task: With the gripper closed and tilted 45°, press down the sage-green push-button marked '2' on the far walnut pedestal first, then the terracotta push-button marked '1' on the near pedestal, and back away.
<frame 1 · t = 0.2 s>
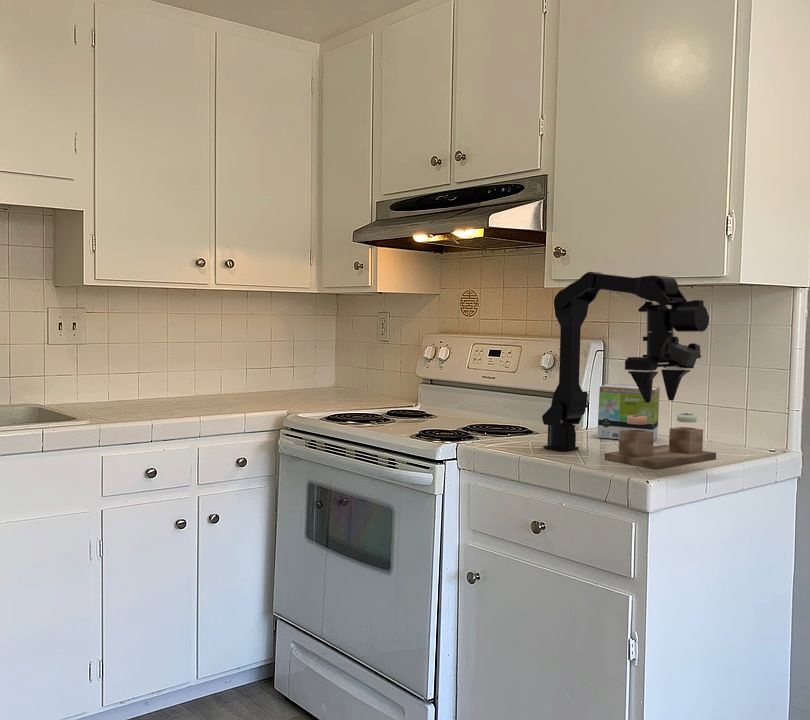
hand: (659, 401, 179), 15 cm above the worktop, tool pointing down, fingers open, 9 cm apart
console: (660, 459, 188), on the worktop
tea box: (627, 439, 221), on the worktop
button 2: (686, 417, 191), point 10 cm above the worktop, slide at 0.0 cm
button 1: (636, 419, 185), point 10 cm above the worktop, slide at 0.0 cm
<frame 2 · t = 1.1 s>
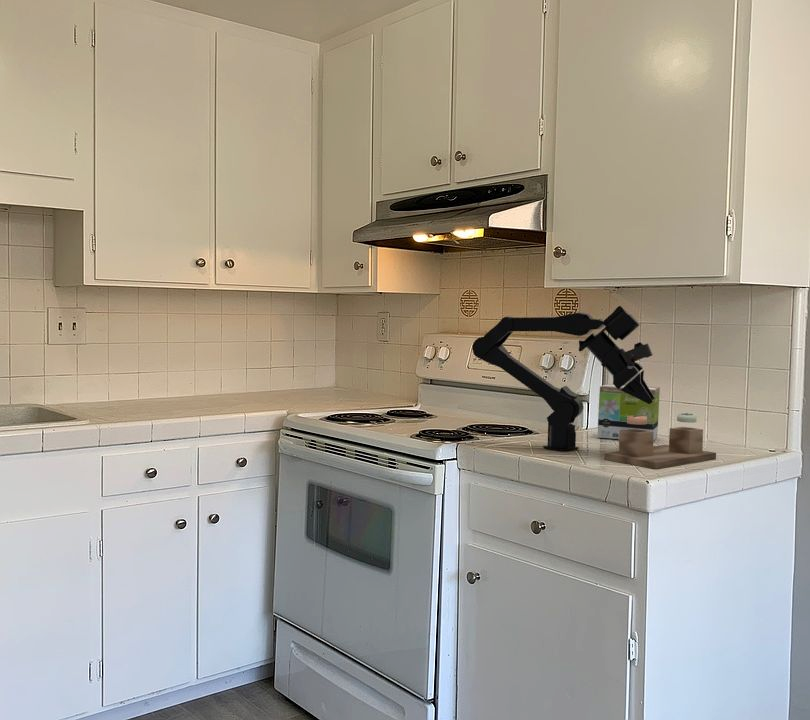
hand: (652, 401, 193), 13 cm above the worktop, tool tilted 45°, fingers open, 8 cm apart
nothing on the worktop moved.
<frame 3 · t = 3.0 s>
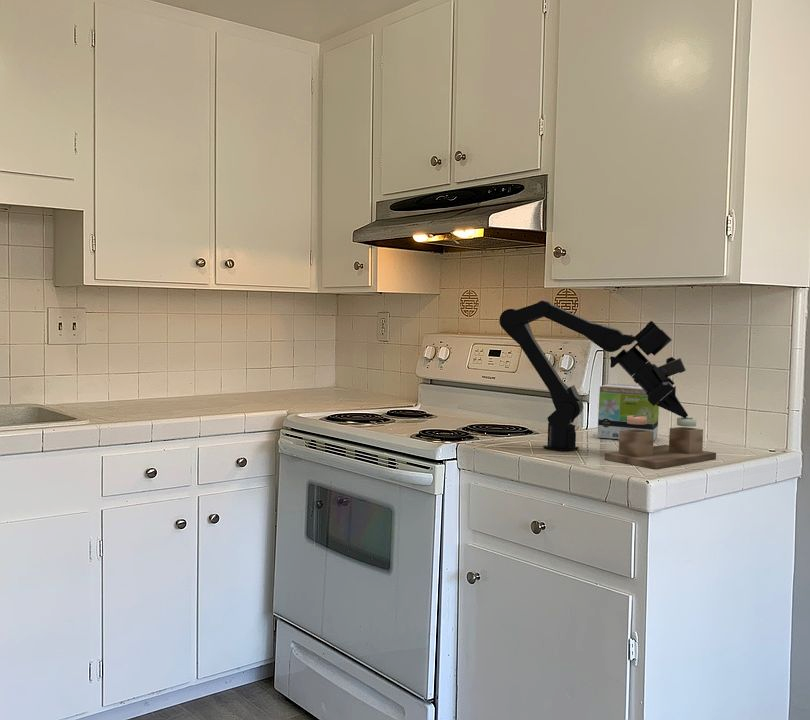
hand: (686, 416, 191), 10 cm above the worktop, tool tilted 45°, fingers closed, pressing on button 2
button 2: (686, 421, 191), point 9 cm above the worktop, slide at 1.0 cm, touching gripper
everything else where it was.
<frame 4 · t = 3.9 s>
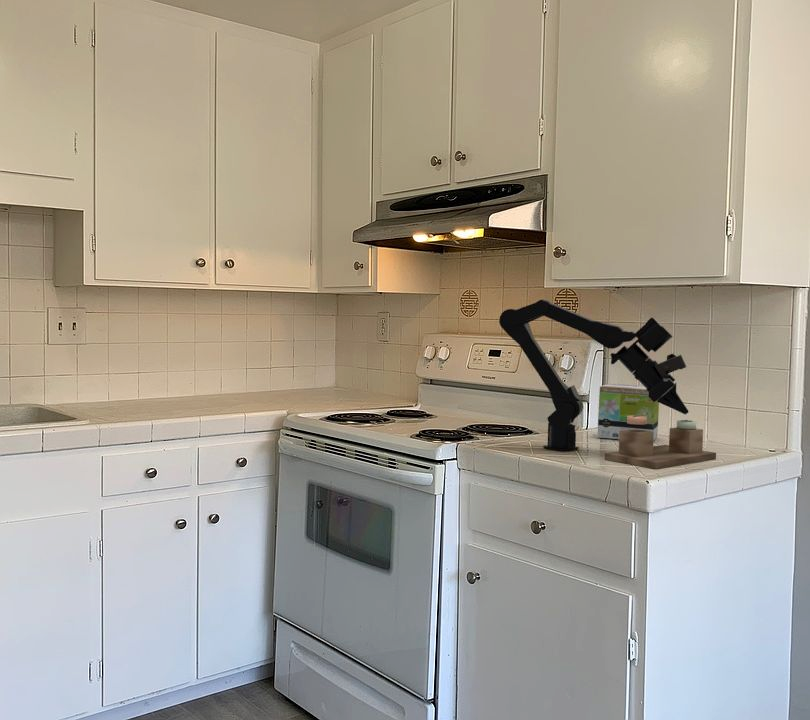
hand: (687, 413, 191), 11 cm above the worktop, tool tilted 45°, fingers closed
button 2: (686, 424, 191), point 8 cm above the worktop, slide at 1.6 cm
everything else where it was.
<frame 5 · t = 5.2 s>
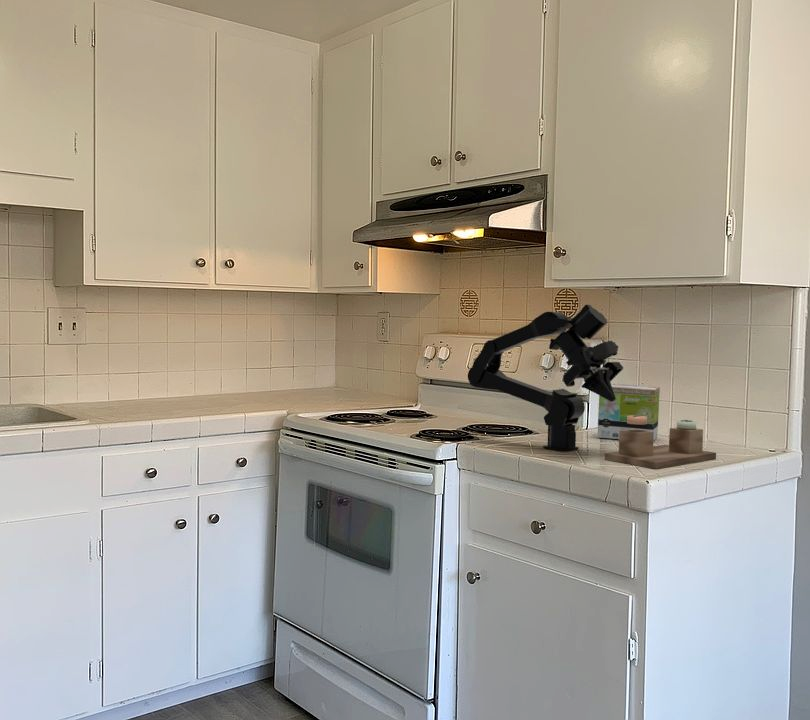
hand: (613, 400, 190), 14 cm above the worktop, tool tilted 45°, fingers closed
nothing on the worktop moved.
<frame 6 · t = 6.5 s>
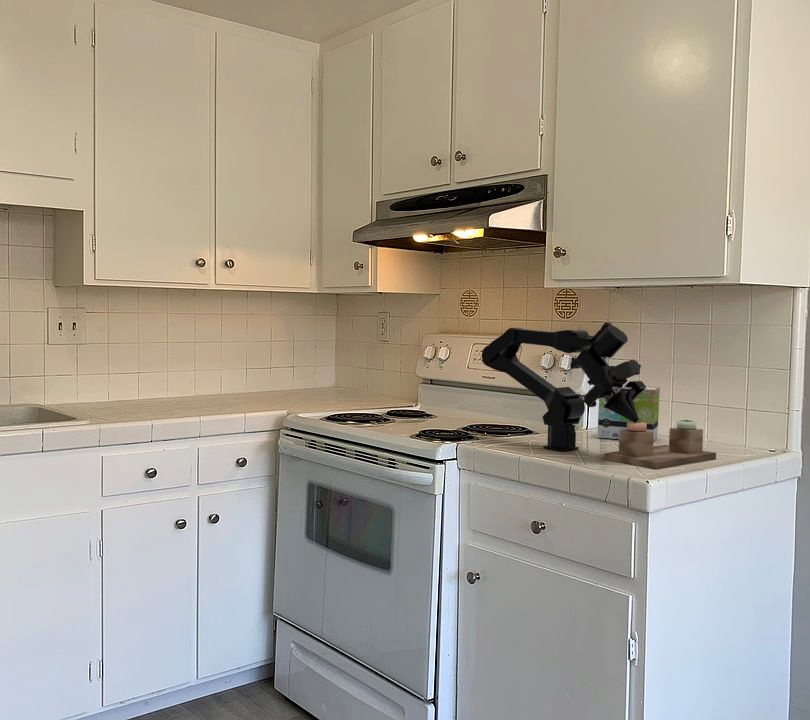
hand: (636, 421, 185), 9 cm above the worktop, tool tilted 45°, fingers closed, pressing on button 1
button 1: (636, 425, 185), point 8 cm above the worktop, slide at 1.5 cm, touching gripper
everything else where it was.
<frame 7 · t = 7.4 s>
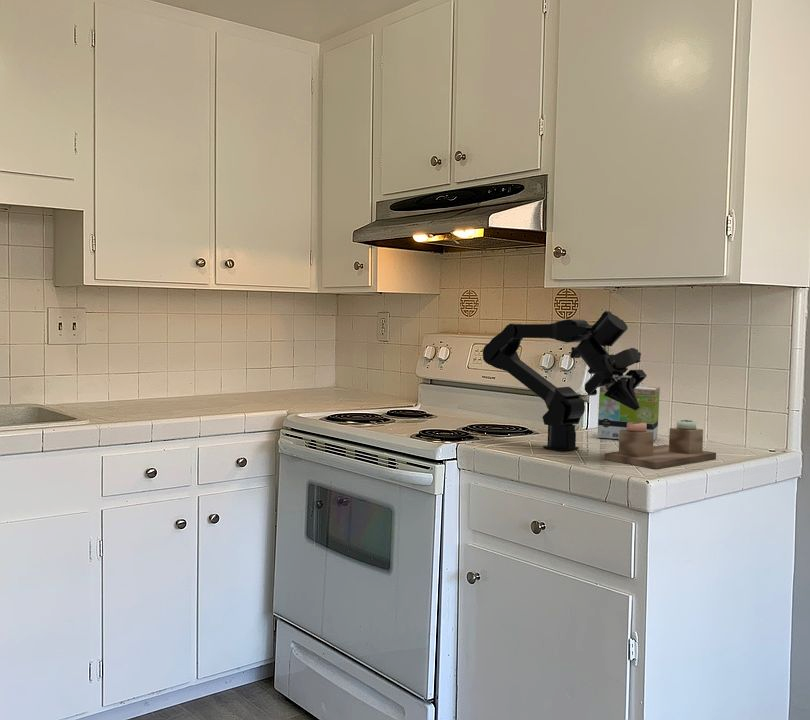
hand: (637, 409, 185), 12 cm above the worktop, tool tilted 45°, fingers closed
button 1: (636, 426, 185), point 8 cm above the worktop, slide at 1.6 cm
everything else where it was.
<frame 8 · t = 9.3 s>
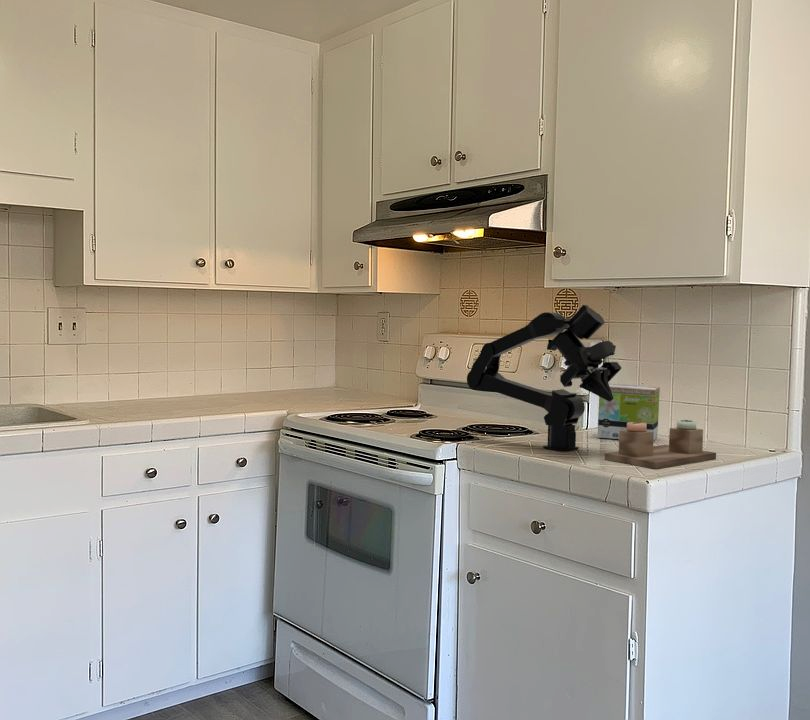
hand: (611, 400, 190), 14 cm above the worktop, tool tilted 45°, fingers closed
nothing on the worktop moved.
at the end: button 2 slide at 1.6 cm; button 1 slide at 1.6 cm; tea box moved 0.3 cm from its start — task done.
